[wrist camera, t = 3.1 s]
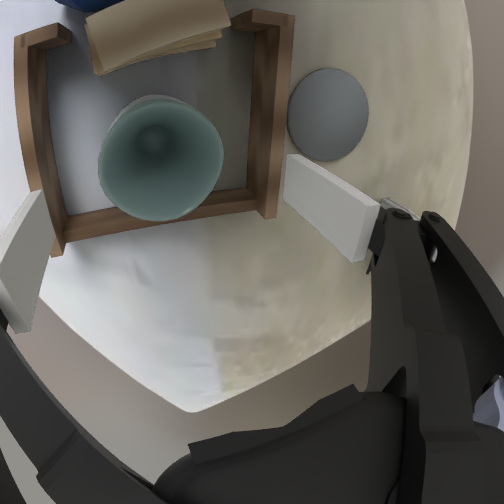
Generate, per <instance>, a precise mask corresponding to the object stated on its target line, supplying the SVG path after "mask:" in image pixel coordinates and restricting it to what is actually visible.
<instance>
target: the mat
mask: <svg viewBox="0 0 504 504" xmlns="http://www.w3.org/2000/svg"><path fill="white" fill-rule="evenodd" d="M367 122H368V102H367V97H366V95H365V92H364V90H363V88H362V86H361V85H360V83H359V82H358V81H357V80H356V79H355V78H354V77H353V76H351V75H350V74H348V73H346V72H344V71H341V70H337V69H321V70H317V71H314V72H312V73H310V74H309V75H307V76H306V77H305V78H303V79H302V80H301V81H300V82H299V84H298V85H297V86H296V87H295V89H294V91H293V93H292V95H291V97H290V100H289V104H288V108H287V126H288V130H289V133H290V136H291V138H292V140H293V142H294V144H295V145H296V146H297V148H298V149H299V150H300V151H302V152H303V153H304V154H306V155H307V156H309V157H311V158H313V159H316V160H320V161H332V160H336V159H339V158H341V157H343V156H345V155H346V154H348V153H349V152H350V151H352V150H353V149H354V148H355V146H356V145H357V144H358V143H359V141H360V140H361V138H362V136H363V134H364V132H365V129H366V126H367Z"/></svg>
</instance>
